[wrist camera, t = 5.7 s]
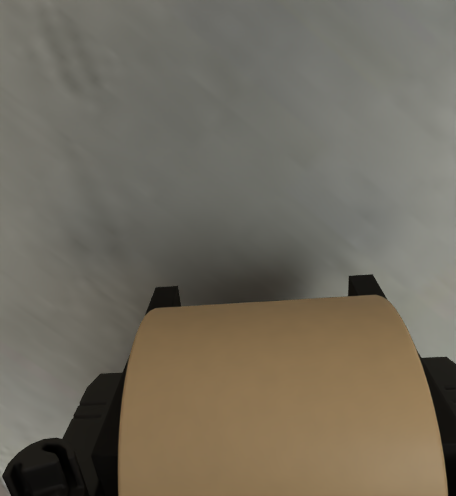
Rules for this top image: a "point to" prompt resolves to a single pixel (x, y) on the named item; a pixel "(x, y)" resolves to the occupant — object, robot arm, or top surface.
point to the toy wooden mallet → (278, 403)
